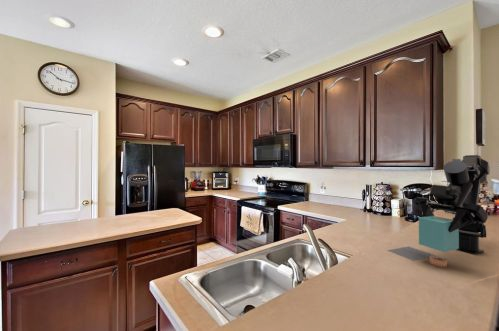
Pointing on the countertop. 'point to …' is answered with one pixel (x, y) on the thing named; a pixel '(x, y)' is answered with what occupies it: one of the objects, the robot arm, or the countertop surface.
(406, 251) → the mat
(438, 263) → the bowl
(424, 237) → the teal rectangular block
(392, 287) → the countertop surface
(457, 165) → the robot arm
